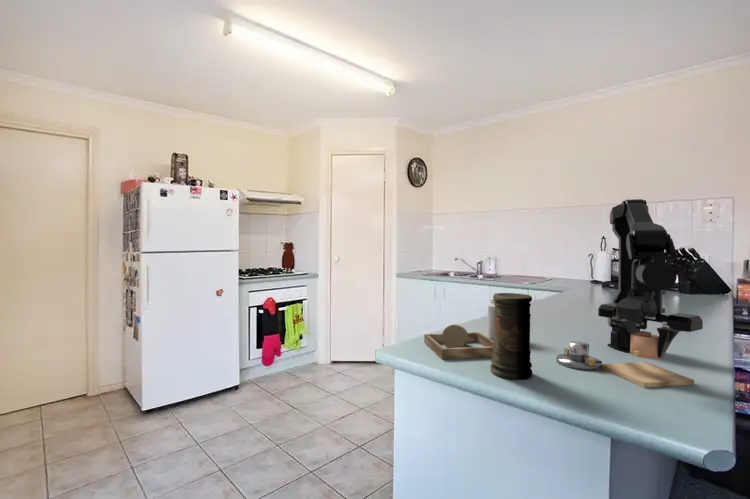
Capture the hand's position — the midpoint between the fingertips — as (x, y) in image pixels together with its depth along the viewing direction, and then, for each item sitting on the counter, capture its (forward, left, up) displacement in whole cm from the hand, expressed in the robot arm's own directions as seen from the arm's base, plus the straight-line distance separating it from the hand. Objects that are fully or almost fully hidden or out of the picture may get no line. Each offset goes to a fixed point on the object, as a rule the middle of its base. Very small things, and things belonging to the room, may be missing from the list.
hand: (645, 354), depth 86 cm
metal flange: (+9, -10, -5) cm, 14 cm away
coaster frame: (+33, -26, -5) cm, 42 cm away
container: (+29, -6, -5) cm, 30 cm away
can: (+17, -35, -5) cm, 39 cm away
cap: (0, 0, 0) cm, 0 cm away
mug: (+34, -28, -5) cm, 44 cm away
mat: (0, 0, -5) cm, 5 cm away
